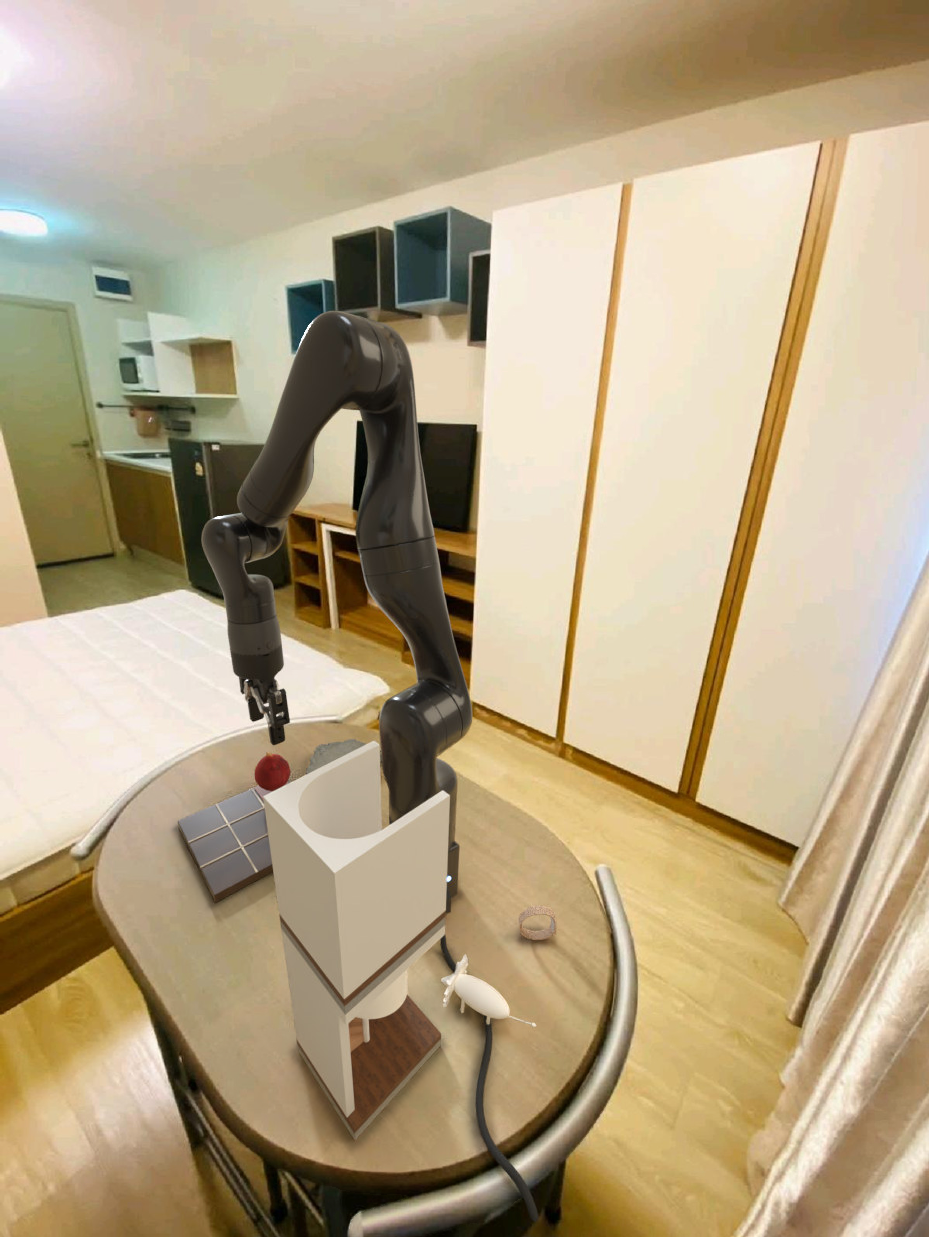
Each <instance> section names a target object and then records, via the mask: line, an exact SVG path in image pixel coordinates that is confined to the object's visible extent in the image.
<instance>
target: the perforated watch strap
mask: <svg viewBox="0 0 929 1237" xmlns="http://www.w3.org/2000/svg"><path fill="white" fill-rule="evenodd" d="M537 915H541V916H542V915H543V916H547V917H550V925H549V926H548V927H546V928H545V929H542V930H531V929H527V928H525V927H524V925H523V922H524V921H525V920H527V919H528V918H530V917H533V916H537ZM556 917H557V916H556V913H555V911H554V909H551V908H550V907H548V906H545V905H532V906H528V907H527V908H525V909H523V910H522V911H521V912H520V914H519V916H518V928H519V932H520V934H521V935H522V936H523V937H524V938H526V939H528V940H531V941H532V940H533V941H542V940H546V939H548V938H550V937H554V935H556V934H557V918H556Z"/></svg>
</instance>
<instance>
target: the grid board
mask: <svg viewBox="0 0 929 1237" xmlns="http://www.w3.org/2000/svg"><path fill="white" fill-rule="evenodd" d="M289 783H291V781H290V780H289V779H288V781H287V783H286V784H285V785H287V784H289ZM285 785H284V786H285ZM271 792H273V791H267V790H265V789H262V788H261V787H260V786H259V785H257V786H255V787H250V788H249V789H248V790H245V791H244V792H243V791H242V792H241V793H238V794H236V795H234V796H231V797H229V798H227V799H225V800H222V801H220V802H215V803H214V804H213V805H210V806H208V807H206V808H203V809H201V810H199V811H197V812H193V813H192V814H189V815H187V816H185V817H182V818H180V819H178V820H177V821H176V822H177V826H178V829H179V831H180V833H181V835H182V837H183V839H184V842H185V844H186V845H187V847H188V849H189V851H190V853H191V856H192V858H193V860H194V863H195V864H196V866H197V868H198V870H199V873H200V874H201V876H202V878H203V881H204V882H205V885H206V886H207V888H208V890H209V893H210V895H211V897H212V899H213V901H214V903H217V902H220V901H222V900H223V899H226V898H227V897H230V896H231V895H233V894H234V893H236V892H238V891H241V890H242V889H244V888H246V887H248V886H249V885H251V884H253V883H255V882H257V881H258V880H260V879H262V878H264V877H266V876H268V875H269V874H271V873H273V865H272V858H271V851H270V844H269V836H268V829H267V822H266V814H265V807H264V800H263V796H265V795H267V794H269V793H271Z"/></svg>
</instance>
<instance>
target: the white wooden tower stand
mask: <svg viewBox="0 0 929 1237" xmlns="http://www.w3.org/2000/svg"><path fill="white" fill-rule="evenodd" d="M380 750H381V745H380V743H378V741H376V740H372V741H370V742H368V743H366V745H364V746H362V747H360V748H358V749H356V750H354V751H352V752H350V753H348V754H346V755H344V756H342V757H340V758H338V759H336V760H334V761H332V762H330V763H328V764H326V765H324V766H322V767H320V768H318V769H316V770H315V771H313V772H311V773H309V774H307V775H306V774H305V775H303V776H301V777H299V778H296V779H295V780H293V781H290V783H289V784H287V785H285V786H283V787H281V788H279V789H277V790H275V791H273V792H271V793H269V794H267V795H265V796H263V800H264V807H265V814H266V822H267V829H268V836H269V844H270V851H271V858H272V865H273V872H272V873H273V879H274V886H275V895H276V902H277V909H278V916H279V922H280V929H281V931H280V932H281V938H282V945H283V951H284V952H283V953H284V959H285V966H286V973H287V981H288V988H289V996H290V1002H291V1010H292V1011H291V1012H292V1019H293V1024H294V1031H295V1039H296V1047H297V1051H298V1053H299V1054H300V1056H301V1057H302V1059H303V1060H304V1063H305V1064H306V1065H307V1067H308V1069H309V1071H310V1072H311V1073H312V1075H313V1077H314V1078H315V1080H316V1081H317V1083H318V1084H319V1086H320V1088H321V1089H322V1091H323V1092H324V1094H325V1096H326V1097H327V1098H328V1100H329V1102H330V1104H331V1105H332V1107H333V1108H334V1109H335V1111H336V1113H337V1114H338V1116H339V1118H340V1120H341V1121H342V1122H343V1124H344V1126H345V1127H346V1129H347V1130H348V1132H349V1133H350V1135H351V1137H352V1138H353V1140H354V1141H357V1139H358V1138H359V1137H360V1135H362V1134H363V1132H364V1131H365V1130H366V1129H367V1128H368V1127H369V1126H370V1124H371V1123H372V1122H373V1121H374V1120H375V1119H376V1118H377V1117H378V1116H379V1115H380V1113H381V1112H382V1111H383V1110H384V1109H385V1108H386V1107H387V1106H388V1105H389V1103H391V1101H393V1100H394V1098H395V1097H396V1096H397V1095H398V1093H400V1091H401V1090H402V1089H403V1088H404V1087H405V1086H406V1084H407V1083H409V1081H410V1080H412V1078H413V1077H414V1075H416V1074H417V1072H418V1071H419V1070H420V1069H421V1068H422V1067H423V1066H424V1064H426V1062H427V1061H428V1060H429V1059H430V1058H431V1057H432V1055H434V1053H435V1052H436V1051H437V1050H438V1049H439V1048H440V1047H441V1046H442V1033H441V1032H440V1030H439V1029H438V1028H437V1027H436V1026H435V1024H434V1023H433V1022H432V1021H431V1020H430V1019H429V1017H427V1015H426V1014H425V1013H424V1012H423V1010H422V1009H421V1008H420V1007H419V1006H418V1005H417V1004H416V1002H414V1000H413V999H412V998H411V997H410V995H408V990H409V988H408V982H409V980H408V969H409V968H410V967H412V966H413V964H415V963H416V962H417V961H418V960H420V959H421V957H423V956H424V955H425V954H426V953H427V952H428V951H429V950H430V949H431V948H432V947H433V946H435V945H436V944H437V943H438V942H439V941H440V939H441V938H442V937H443V936H444V935H445V936H446V915H447V914H446V890H447V862H448V835H449V808H450V795H449V794H447V793H446V792H445V791H443V790H442V791H441V792H439V793H438V794H436V795H435V796H433V797H432V798H430V799H429V800H427V801H426V802H424V803H422V804H421V805H419V806H418V807H416V808H415V809H413V810H412V811H410V812H409V813H407V814H406V815H404V816H403V817H401V818H400V819H398V820H397V821H395V822H393V823H392V824H390V825H389V824H388V826H386V827H385V828H383V820H382V819H383V818H382V814H383V813H382V783H381V782H382V781H381V779H382V778H381V762H380Z"/></svg>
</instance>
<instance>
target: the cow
mask: <svg viewBox="0 0 929 1237" xmlns="http://www.w3.org/2000/svg"><path fill="white" fill-rule="evenodd" d="M468 961H469V958H468V955H467V954H466V953H464V954H463V956H462V959H461V961H457V963H456V970H455V973H454V972H453V973H451V974H449V975H446V976H444V977H443V978H441V980H440V983H441V984H442V985H444V986H445V987H446V989H445V991H444V993H443V995H444V998H443V1000H442V1002H444V1003H443V1004H442V1006H443V1007H445V1008H446V1007H447V1006H448V1004H449V1003H450V1000H451V996H452V994H453V993H454V992H455V993H456V995H457V997H458V998H460V999H461V1002H460V1009H459V1011H460V1013H461V1014H464V1013H465V1004H466V1005H467V1006H468V1007H470V1008H471V1009H473V1010H474V1011H476V1012H477V1013H479V1014H481V1015H482V1014H483V1015H485V1016H487V1020H486V1024H488V1025H489V1024H490V1019H496V1020H504V1019H506V1018H509V1019H511V1020H515V1021H518V1022H519V1023H523V1024H526V1025H529V1026H531V1028H535V1027H537V1024H536V1023H535V1022H529V1021H527V1020H523V1019H521V1018H518V1017H515V1016H512V1015H510V1013H511V1012H510V1011H511V1010H510V1006H509V1004H508V1002H507V1001H506V999H505V998H504V997H503V995H502V993H500V992H499V991H498V990H497V989H495V988H494V987H493V985H490V984H489V983H487V982H486V981H485V980H482V979H480V978H479V977H476V976H474V975H472V974H471V975H470V974H467V973H468V970H467V968H468V966H469V962H468ZM483 1015H482V1016H483Z"/></svg>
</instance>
